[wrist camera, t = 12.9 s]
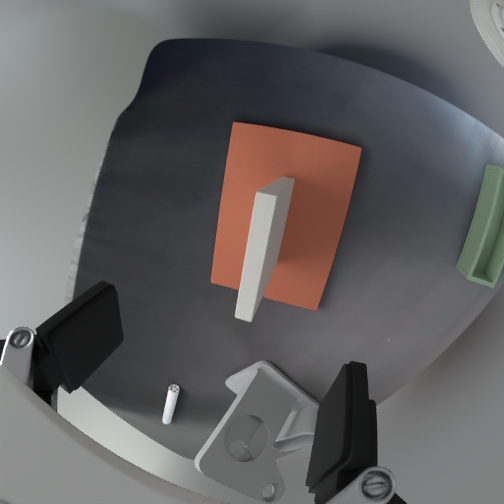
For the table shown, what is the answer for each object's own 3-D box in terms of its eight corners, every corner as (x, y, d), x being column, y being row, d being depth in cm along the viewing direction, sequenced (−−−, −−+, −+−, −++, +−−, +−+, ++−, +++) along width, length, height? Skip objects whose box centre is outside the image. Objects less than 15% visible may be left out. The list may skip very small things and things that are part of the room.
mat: (235, 122, 28) (233, 121, 27) (361, 147, 26) (362, 147, 25) (212, 279, 36) (210, 282, 35) (316, 308, 33) (316, 311, 33)
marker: (171, 422, 54) (167, 429, 52) (163, 418, 54) (159, 425, 52) (181, 387, 47) (176, 395, 45) (172, 382, 47) (166, 390, 45)
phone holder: (330, 412, 40) (320, 502, 24) (287, 428, 44) (268, 506, 28) (264, 357, 38) (228, 460, 22) (222, 380, 43) (181, 465, 26)
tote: (485, 163, 21) (500, 166, 18) (512, 179, 20) (527, 183, 17) (455, 267, 27) (466, 279, 24) (482, 276, 26) (493, 288, 23)
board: (282, 175, 28) (256, 191, 17) (295, 178, 28) (277, 196, 17) (265, 260, 32) (234, 317, 21) (276, 263, 32) (251, 322, 21)
